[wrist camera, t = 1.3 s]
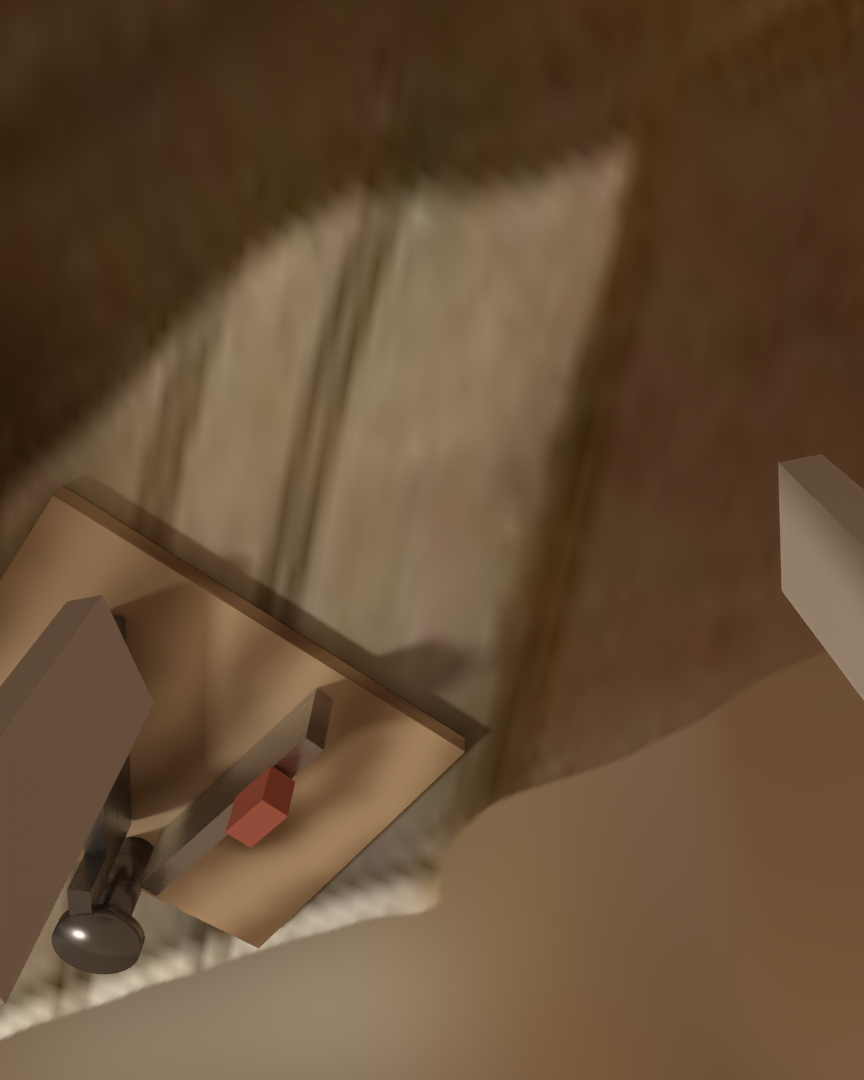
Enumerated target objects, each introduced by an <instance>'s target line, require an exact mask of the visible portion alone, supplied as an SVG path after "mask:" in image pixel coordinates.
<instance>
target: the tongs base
mask: <svg viewBox="0 0 864 1080" xmlns="http://www.w3.org/2000/svg"><path fill="white" fill-rule="evenodd" d="M332 703H333V701H332V700H331V699H329V698H328V697H327V696H325V695H324V694H323V693H321V692H320V691H318V690H317V689H316V690H315V691H313V692H312V693H311V694H310V695H309V696H308V697H307V698H306V699H305V700H304V701H303V702H301V703H300V704H299V705H298V706H297V707H296V708H295V709H294V710H293V711H292V712H291V713H289V714H288V715H287V716H286V717H285V718H284V719H283V720H282V721H281V722H280V723H279V724H277V725H276V726H275V727H274V728H273V729H272V730H271V731H270V732H269V733H268V734H267V735H265V736H264V737H263V738H262V739H261V740H260V741H259V742H258V743H257V744H256V745H255V746H253V747H252V748H251V749H250V750H249V751H248V752H247V753H246V754H245V755H244V756H243V757H242V758H240V759H239V760H238V761H237V762H236V763H235V764H234V765H233V766H232V767H231V768H230V769H228V770H227V771H226V772H225V773H224V774H223V775H222V776H221V777H220V778H219V779H218V780H216V781H215V782H214V783H213V784H212V785H211V786H210V787H209V788H208V789H207V790H206V791H204V792H203V793H202V794H201V795H200V796H199V797H198V798H197V799H196V800H195V801H194V802H192V803H191V804H190V805H189V806H188V807H187V808H186V809H185V810H184V811H183V812H182V813H180V814H179V815H178V816H177V817H176V818H175V819H174V820H173V821H172V822H171V823H170V824H168V825H167V826H166V827H165V828H164V829H163V830H162V831H161V832H160V834H159V837H158V839H157V842H156V844H155V847H153V845H152V844H151V843H150V842H148V841H147V840H145V839H143V838H139V837H126V838H125V840H124V842H123V844H122V846H121V849H120V851H119V853H118V855H117V858H116V860H115V862H114V865H113V867H112V869H111V871H110V874H109V876H108V882H107V885H106V887H105V889H104V891H103V894H102V896H101V898H100V900H99V903H98V904H103V905H108V906H112V907H115V908H118V909H120V910H122V911H124V912H126V913H128V914H129V915H131V916H132V913H133V910H134V908H135V905H136V903H137V900H138V898H139V895H140V893H141V890H142V889H144V890H146V891H148V892H149V893H151V894H153V895H154V896H158V895H159V894H160V893H161V892H162V891H163V890H164V889H166V888H167V887H168V886H169V885H170V884H171V883H172V882H174V881H175V880H176V879H177V878H178V877H179V876H181V875H182V874H183V873H184V872H185V871H186V870H187V869H189V868H190V867H191V866H192V865H193V864H194V863H195V862H197V861H198V860H199V859H200V858H201V857H202V856H203V855H205V854H206V853H207V852H208V851H209V850H210V849H211V848H213V847H214V846H215V845H216V844H217V843H218V842H219V841H221V840H222V839H223V838H224V837H225V836H226V835H227V833H226V832H225V831H226V828H227V824H228V821H229V818H230V814H231V811H232V808H233V805H234V801H235V798H236V796H237V795H238V794H240V793H241V792H242V791H243V790H244V789H245V788H246V787H247V786H248V785H250V784H251V783H252V782H253V781H254V780H255V779H256V778H257V777H259V776H260V775H261V774H262V773H263V772H264V771H265V770H266V769H267V768H269V767H270V766H273V767H274V768H276V769H277V770H279V771H280V772H282V773H283V774H285V775H286V776H288V777H289V778H291V779H292V778H293V777H294V776H295V775H296V774H297V773H298V772H300V771H301V770H302V769H303V768H304V767H305V766H306V765H308V764H309V763H310V762H311V761H312V760H313V759H314V758H316V757H317V756H318V755H319V754H320V753H321V752H322V751H324V747H325V741H326V736H327V730H328V725H329V719H330V714H331V708H332Z"/></svg>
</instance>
